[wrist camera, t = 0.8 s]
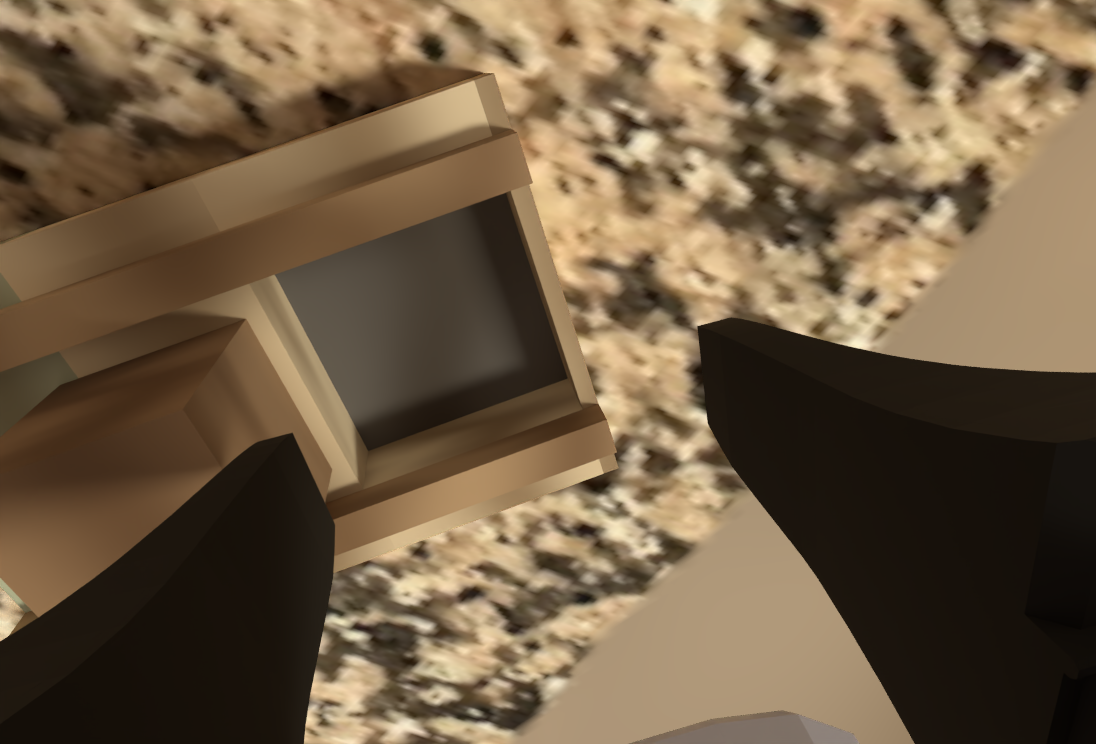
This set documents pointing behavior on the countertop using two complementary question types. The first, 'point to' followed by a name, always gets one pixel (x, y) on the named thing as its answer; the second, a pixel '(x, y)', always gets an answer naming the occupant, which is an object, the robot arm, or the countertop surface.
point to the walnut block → (132, 455)
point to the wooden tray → (343, 310)
